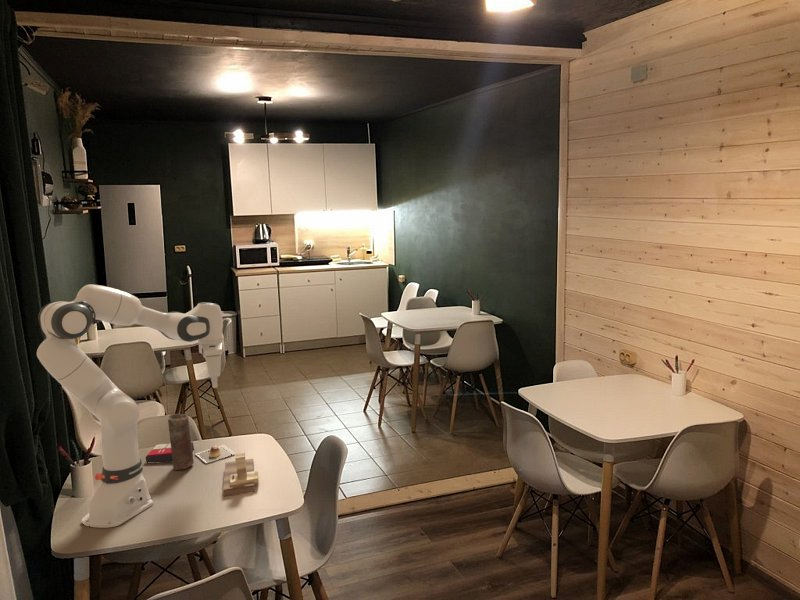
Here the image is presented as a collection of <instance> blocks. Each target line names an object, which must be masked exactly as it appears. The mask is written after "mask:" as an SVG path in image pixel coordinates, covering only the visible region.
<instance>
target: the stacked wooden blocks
mask: <svg viewBox="0 0 800 600" xmlns="http://www.w3.org/2000/svg"><path fill="white" fill-rule="evenodd" d="M235 453H236V454H234V456H235V457H234V458H235V461H236V468H237V474H233V475H231V477H230V485H231V486H233V485H239V484H245V483H252V482H254V486H258V485H259V483H260V482H259V471H258V470H254V471H253V472H247V470H246V461H245V460H246V454H245V451H243V452H235Z"/></svg>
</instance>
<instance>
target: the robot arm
mask: <svg viewBox="0 0 800 600" xmlns="http://www.w3.org/2000/svg"><path fill="white" fill-rule="evenodd" d="M37 319H38V324H39V327H40V331H41V337H42V338H44V340H43V341H42V342H41V343H40V344H39V346H38V348H37V350H36V357H37V359H38V360H39V363H40V364H41V365H42V366H43V367H44V369H45V370H46V371H47V372H48V373H49V374H50V375H51V377H52V378H53V379H55V381H57V383H59V385H61V386H62V387H63V388H64V389H65V390H66V391H67V392H68V393H69V394H71V395H72V396H73V398H75V399H76V400H77V401H78V402H79V403H80V404H81V405H82V406H84V408H85V409H86V410H88V411H89V412H90V413H91V414H92V415H93V416H94V417H95V418H97V420H98V421H99V424H100V426H101V440H100V441H101V442H100V453H101V459H102V464H103V466H102V470H101V473H95V474H94V480H95V481H101V482H100V483H99V485H98V486H97V488H96V490H95V492H94V493H93V495H92V496H91V498H90V499H89V501H88V513H87V514H86V515H85V516H83V517H82V518H81V524H82V523H83V524H84V526H86V527H89V526H90V527H91V528H101V529H106V528H114V527H117V526H118V527H119V526H120V525H122V524H123V523H125V522H127V521H128V520H131V519H132V518H133V517H135V516H137V515H138V514H140V513H142V512H143V511H145V510H147V509H148V508H150V507H151V506H153V505H154V502H153V500H152V497H151V495H150V492H149V489H148V484H147V481H146V479H145V477H144V474H143V462H142V459H141V457H140V452H139V444H138V420H140V419H139V418H140V410H139V407H138V405H137V403H136V401H135V400H134V399H133V398H132V397H130V396H129V395H128V394H126V393H125V392H123V391H122V390H121V389H120V388H119V387H118V386H117V385H116V384H115V383H114V382H113V381H112V380H111V379H110V378H109V377H108V375H107V374H106V373H105V372H104V371H103V370H102V369H101V368H100V367H99V365H97V364H96V363H95V362H94V361H93V360H92V359H91V358H90V357H89V356H88V355H87V354H86V353H85V352H84V351H83V350H82V349H80V348H79V346H78V344H77V342H76V339H78V338H81V337H83V336H84V335H85V334H86V333H87V331H88V330H90V327H91V326H92V324H93V323H94V321H95V320H97V321H101V322H104V323H109V324H112V325H117V326H118V325H119V326H127V327H130V326H133V325H139V326H143V327H147V328H151V329H153V330H157V331H158V332H160V333H161V334H162V335H163V336H164V337H165V338H167V339H169V340H173V341H181V342H186V343H192V342H195V341H198V352H199V354H201V355H202V357H203V358H204V359H205V364H206V368H207V373H208V377H209V378H210V382H211V386H212V387H211V388H213V389H217V388H218V379H219V378H218V377H220V376H221V367H222V366H221V364H222V356H223V353H224V352H225V336H224V333H223V328H224V322H223V313H222V310H221V307H220V305H219V304H218V303H212V302H202V301H201V302H198V303H197V305H196V306H195V307H193V308H192V309H191V310H189V311H188V312H186V313H183V312H180V311H169V312H162V311H158V310H155V309H153V308H149V307H146V306H144V305H143V304H142V301H141V300H140V298H138V297H137V296H135V295H134V294H131V293H128V292H127V291H125V290H124V291H123V290H121V289H117V288H114V287H110V286H105V285H99V284H92V283H91V284H90V283H89V284H85V285H84V286H83V287H81V288H80V289H79V291H78V292H77V295H76V296H75V298H74V299H73V300H72V301H64V300H62V301H61V300H56V301H55V300H54V301H51V302H49V303H46V304H45V305H44V306H42V307H41V309H40V311H39V313H38V317H37ZM83 524H82V525H83Z"/></svg>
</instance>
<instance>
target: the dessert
mask: <svg viewBox="0 0 800 600" xmlns="http://www.w3.org/2000/svg"><path fill="white" fill-rule="evenodd" d="M220 447H223V448H224V449H225V450H224V449H223V448H222V449H223V450H224V451H226V450H227V451H228V452H230V453H231V454H232V456H235V455H236V453H237V452H235V451H233V450H232V449H230V448H229V447H228V446H226V445H225V444H221V445H219V446H217V445H216V444H214V445H212V446H211V448H209V449H205V450H202V451H198V452H197V453H194V455H195V456H197V457H198V458H199V459H200V460H201V461H203V463H205V464H210V463H213V462H216V461H219V459H220V460H222V458H223V459H225V457H226V458H229V457H231V454H229V455H226V456H222V457H220V456H221V455H222V453H221V451H220V449H221V448H220ZM219 448H220V449H219ZM208 450H210V452H209V455H208V456H210V457H209V458H212V457H214V458H217V459H214V460H211V461H207V462H206V460H205V458H203V457H202V456H201V455H197V454H200V453H202V452H205V451H208ZM227 451H226V452H227ZM228 452H227V453H228ZM219 455H220V456H219ZM200 456H201V457H202V458H203V459H202V458H201V457H200ZM217 456H218V457H217ZM228 456H229V457H228ZM219 457H220V458H219Z"/></svg>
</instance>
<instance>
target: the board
mask: <svg viewBox="0 0 800 600" xmlns="http://www.w3.org/2000/svg"><path fill="white" fill-rule="evenodd" d="M245 461H246V470H247V472H253V471H255V464H254V463H255V462H254V458H248V459H245ZM224 464H225V465H224V475H223V476H224V477H223V488H222V490H223V497H230V496H237V495H244V494H248V493H255V491H256V490H255V489H254V488H255V482H252V483H245V484H239V485H233V486H231V485H230V477H231V475H233V474H237V468H236V460H235V461H227V462H225V463H224Z"/></svg>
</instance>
